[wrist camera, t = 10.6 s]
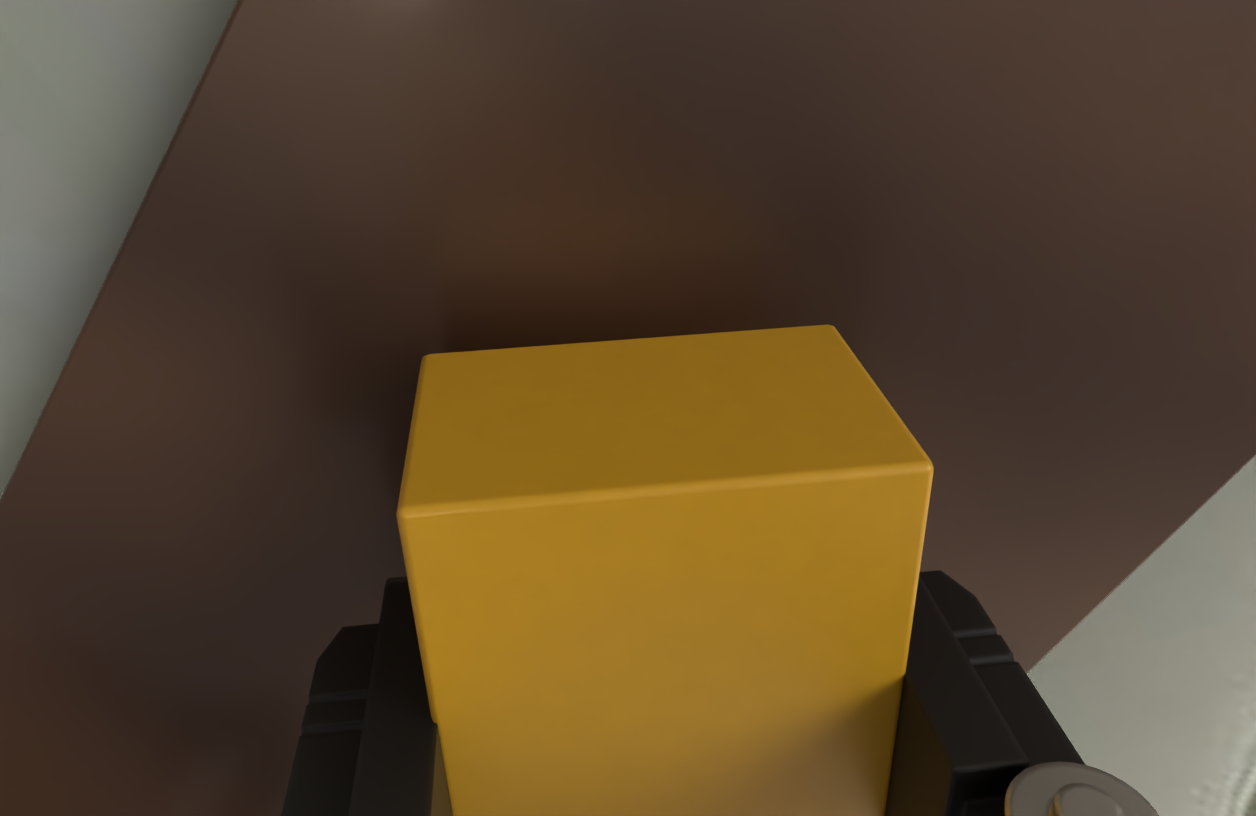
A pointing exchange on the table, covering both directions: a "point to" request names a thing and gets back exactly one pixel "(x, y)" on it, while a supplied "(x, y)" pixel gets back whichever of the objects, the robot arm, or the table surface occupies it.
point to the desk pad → (614, 317)
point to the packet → (663, 574)
